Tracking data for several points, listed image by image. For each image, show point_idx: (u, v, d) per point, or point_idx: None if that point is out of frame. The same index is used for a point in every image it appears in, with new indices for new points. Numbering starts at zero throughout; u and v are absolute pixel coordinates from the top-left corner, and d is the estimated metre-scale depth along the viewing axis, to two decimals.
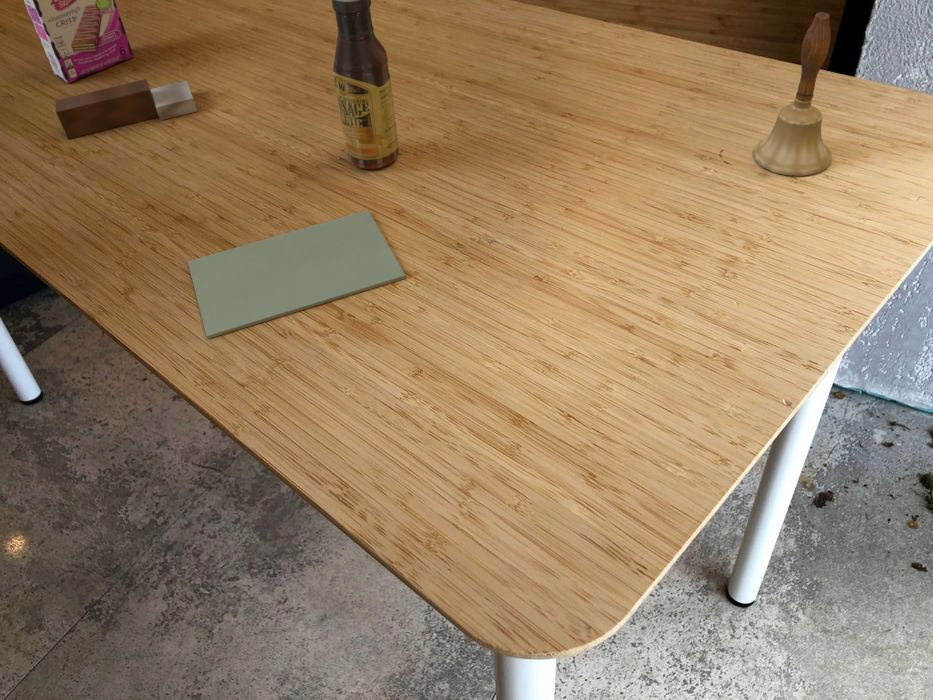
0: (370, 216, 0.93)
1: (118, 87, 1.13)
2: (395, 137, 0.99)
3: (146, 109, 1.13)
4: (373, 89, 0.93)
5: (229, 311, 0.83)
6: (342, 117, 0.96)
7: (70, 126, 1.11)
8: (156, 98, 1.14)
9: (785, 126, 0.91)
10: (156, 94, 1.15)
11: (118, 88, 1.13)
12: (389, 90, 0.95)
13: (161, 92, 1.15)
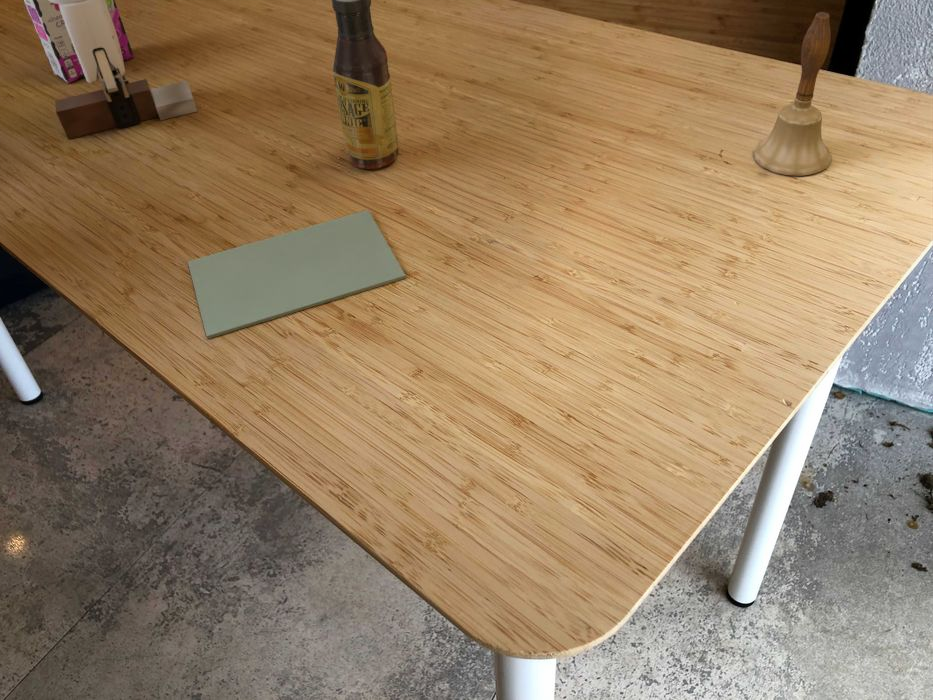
0: (370, 216, 0.93)
1: None
2: (395, 137, 0.99)
3: (146, 109, 1.13)
4: (373, 89, 0.93)
5: (229, 311, 0.83)
6: (342, 117, 0.96)
7: (70, 126, 1.11)
8: (156, 98, 1.14)
9: (785, 126, 0.91)
10: (156, 94, 1.15)
11: None
12: (389, 90, 0.95)
13: (161, 92, 1.15)
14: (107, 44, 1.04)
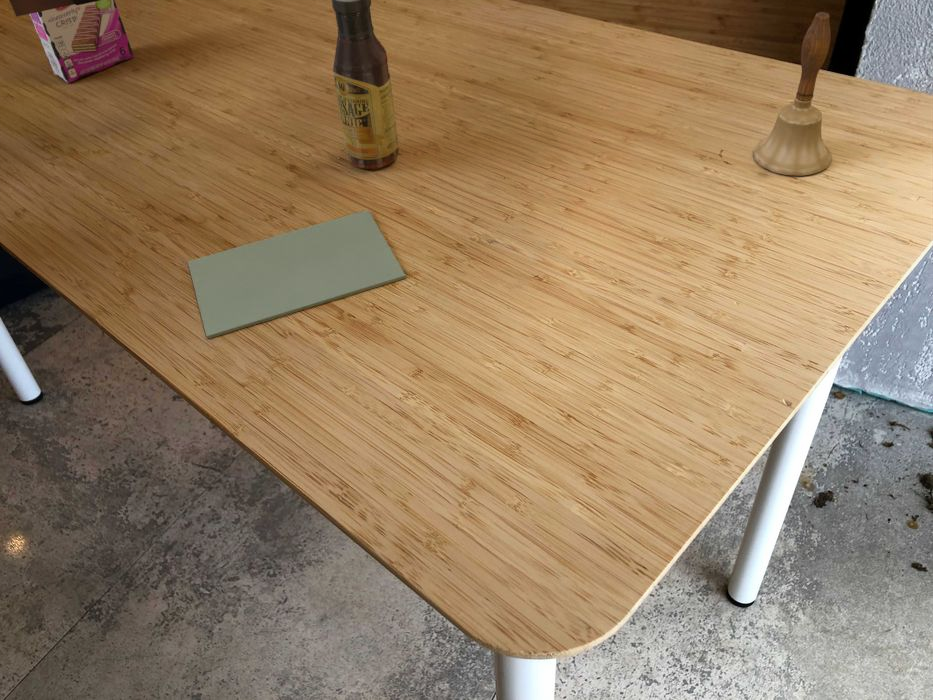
0: (370, 216, 0.93)
1: None
2: (395, 137, 0.99)
3: None
4: (373, 89, 0.93)
5: (229, 311, 0.83)
6: (342, 117, 0.96)
7: (18, 0, 0.95)
8: None
9: (785, 126, 0.91)
10: None
11: None
12: (389, 90, 0.95)
13: None
14: None
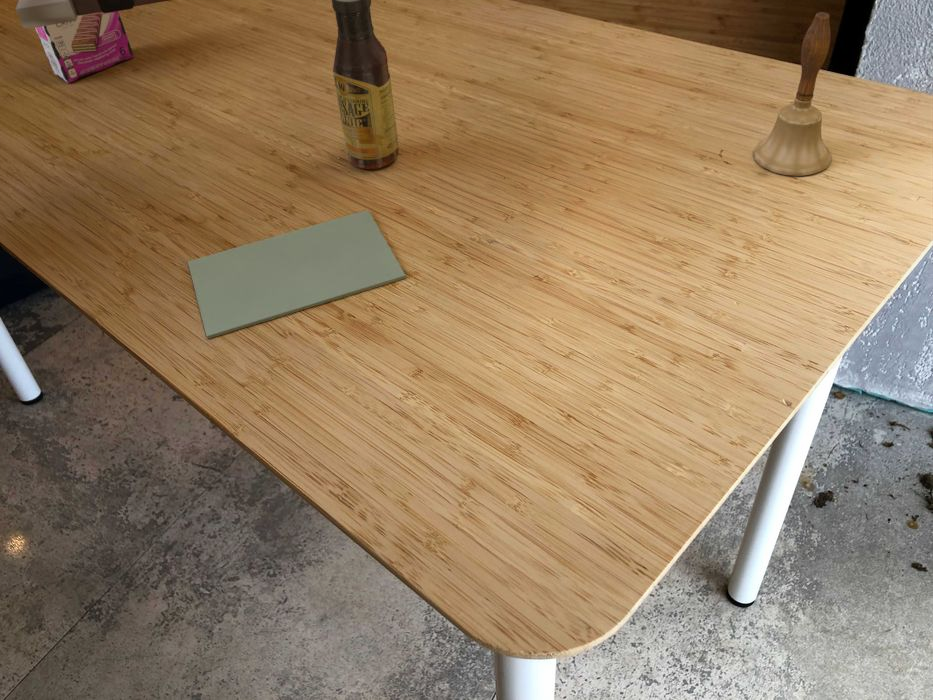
0: (370, 216, 0.93)
1: None
2: (395, 137, 0.99)
3: None
4: (373, 89, 0.93)
5: (229, 311, 0.83)
6: (342, 117, 0.96)
7: None
8: None
9: (785, 126, 0.91)
10: None
11: None
12: (389, 90, 0.95)
13: None
14: None
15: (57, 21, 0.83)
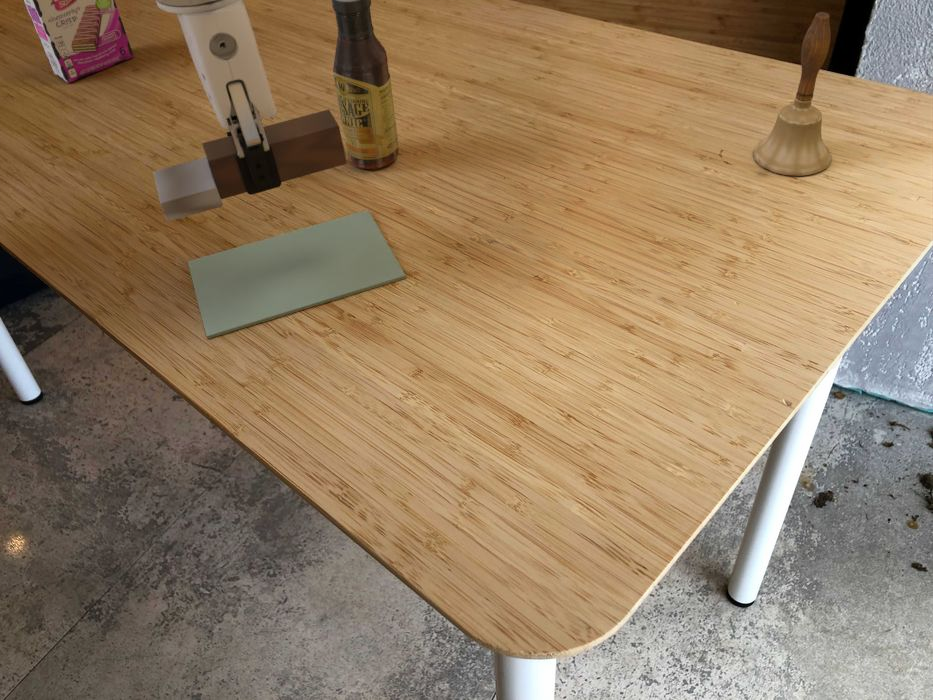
0: (370, 216, 0.93)
1: None
2: (395, 137, 0.99)
3: None
4: (373, 89, 0.93)
5: (229, 311, 0.83)
6: (342, 117, 0.96)
7: None
8: (206, 171, 0.77)
9: (785, 126, 0.91)
10: (206, 177, 0.76)
11: None
12: (389, 90, 0.95)
13: (199, 180, 0.76)
14: None
15: (203, 209, 0.76)
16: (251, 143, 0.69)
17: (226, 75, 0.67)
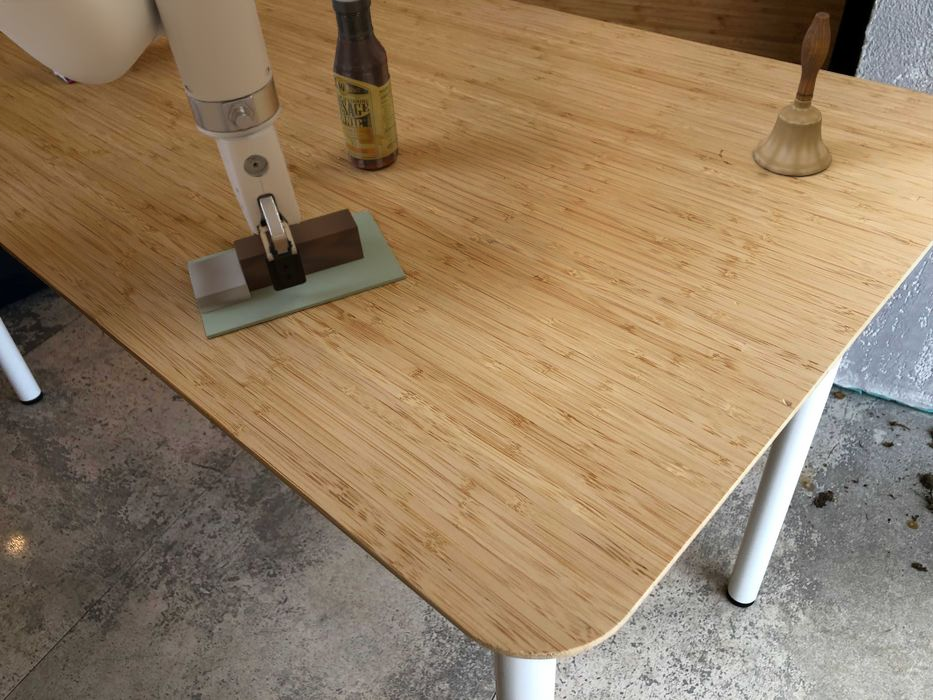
0: (370, 216, 0.93)
1: None
2: (395, 137, 0.99)
3: None
4: (373, 89, 0.93)
5: (229, 311, 0.83)
6: (342, 117, 0.96)
7: None
8: (236, 265, 0.85)
9: (785, 126, 0.91)
10: (237, 272, 0.84)
11: None
12: (389, 90, 0.95)
13: (230, 275, 0.83)
14: None
15: (233, 302, 0.83)
16: (277, 238, 0.74)
17: (258, 190, 0.74)
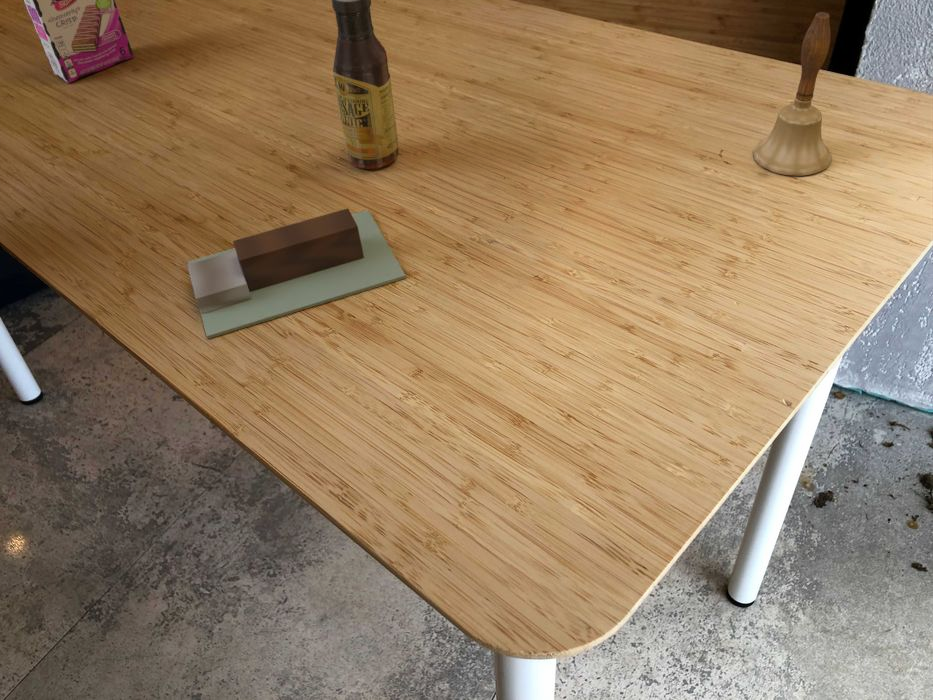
0: (370, 216, 0.93)
1: (276, 245, 0.83)
2: (395, 137, 0.99)
3: None
4: (373, 89, 0.93)
5: (229, 311, 0.83)
6: (342, 117, 0.96)
7: None
8: (236, 265, 0.85)
9: (785, 126, 0.91)
10: (237, 272, 0.84)
11: (275, 244, 0.83)
12: (389, 90, 0.95)
13: (230, 275, 0.83)
14: None
15: (233, 302, 0.83)
16: None
17: None
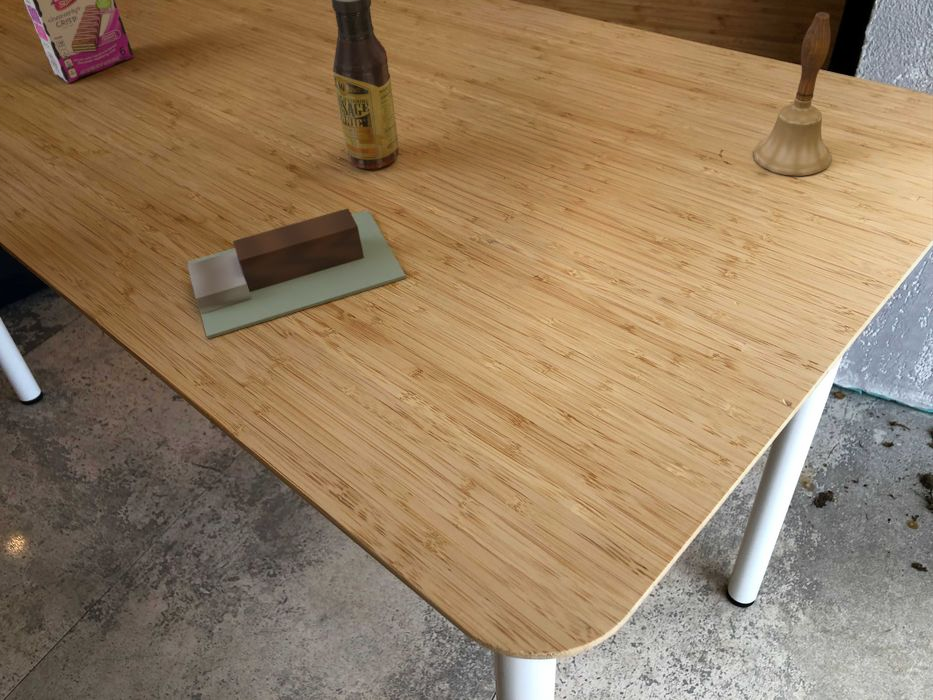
0: (370, 216, 0.93)
1: (276, 245, 0.83)
2: (395, 137, 0.99)
3: None
4: (373, 89, 0.93)
5: (229, 311, 0.83)
6: (342, 117, 0.96)
7: None
8: (236, 265, 0.85)
9: (785, 126, 0.91)
10: (237, 272, 0.84)
11: (275, 244, 0.83)
12: (389, 90, 0.95)
13: (230, 275, 0.83)
14: None
15: (233, 302, 0.83)
16: None
17: None
